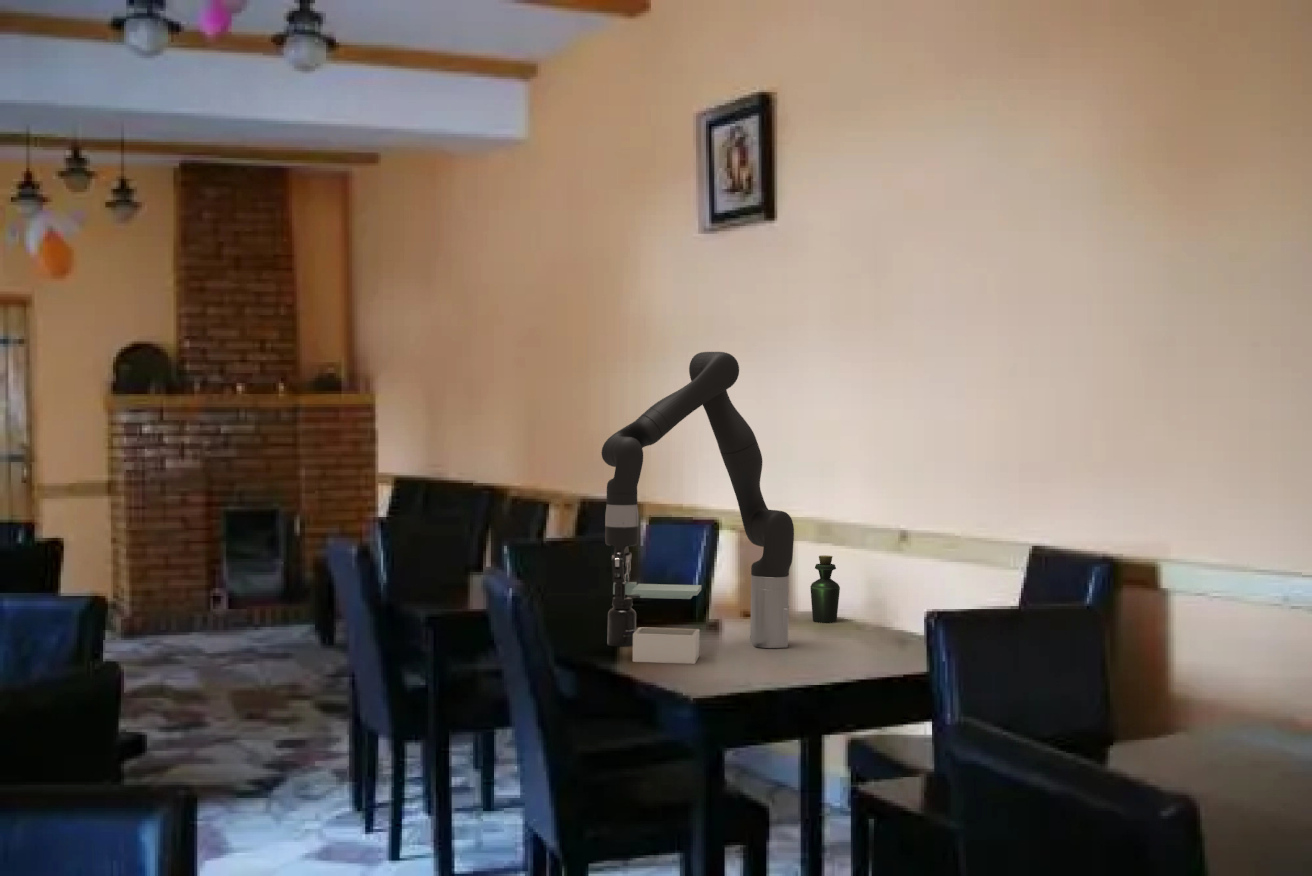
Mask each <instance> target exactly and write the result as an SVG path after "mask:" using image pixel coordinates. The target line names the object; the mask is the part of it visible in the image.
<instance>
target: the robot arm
mask: <svg viewBox="0 0 1312 876" xmlns="http://www.w3.org/2000/svg"><path fill="white" fill-rule="evenodd" d="M688 372H689V374H688V375H689V378H690V381H689V383H687V384H686V385H684V386H683V387H681V388H679V389H678V390H676V391H674V392H673V393H671V394H669V395H667V396H665V397H663V398H662V399H660V400H659V401H656V402H655V403H654V404H653V405H651V406H650V407H648V409H646V411H644V412H643V413H642V414H641V415H640V416H639V417H638V418H637V419H636V420H635V421H632V422H631V423H629V424H627V425H625V426H624V427H622V428H621V429H619V430H617V431H616V432H615V433H613V434H611V436H609V437H608V439H606V440H605V442H604V444H603V445H602V447H601V457H602V458H601V459H602V460H603V462H604V463H605V464H607V465H608V466H610V467H614V468H615V469H614V473H613V474H614V475H613V478H611V479H609V480H608V482H607V483H606V506H605V507H606V509H605V516H604V517H605V519H604V520H605V521H604V523H605V527H604V528H605V529H604V530H605V531H604V532H605V534H604V535H605V536H604V539H605V541H604V542H605V544H606V546H610V547H614V552H613V553H611V570H612V571H611V572H612V583H613V584H615V594H614V597H615V600H616V601H624V600H625V599H626V598H627V597H628V596H629V595H625V583H626V582H630V578H631V570H632V569H631V565H632V564H631V562H632V557H633V556H632V552H630V549H629V547H635V546H637V545H638V544H639V509H638V484H639V482H640V481H639V480H640V477H641V472H642V469H643V463H644V451H643V448H645V447H648V446H652V445H655V444H656V443H658V442H659V441H660V440H661V439H662V438H663V437H665V435H667V434H668V433H669V432H670V431H671V430H672V429H674V427H676V426H677V425H679V423H680V422H682V420H684V419H685V418H687V417H688V416H689V415H691V414H692V413H693V412H695V411H696V410H697V409H699V408H700V407H702V406H703V409H704V411H705V413H706V416H707V419H708V422H709V425H710V427H711V429H712V432H713V435H714V438H715V440H716V442H717V445H718V450H719V452H720V455H721V457H722V461H723V463H724V466H725V469H726V471H727V474H728V477H729V479H730V482H731V485H732V489H733V491H734V493H735V494H734V495H735V497H736V501H737V505H738V508H739V513H740V517H741V521H742V526H743V529H744V532H745V536H747V539H748V540H749V542H751V544H753V545H755V546H758V547H763V548H762V549H763V550H762V556H761V558H760V559H759V560H757V561H754V562H753V563H752V564H751V567H750V569H751V571H750V572H751V573H750V575H751V576H750V625H749V626H750V632H749V634H750V635H749V639H750V640H749V641H750V643H749V644H751V646H753V647H755V648H761V649H762V648H763V649H764V648H767V649H779V648H788V647H789V618H790V616H789V615H790V614H789V611H790V608H789V607H790V605H789V597H790V596H789V590H790V589H789V587H790V586H789V585H790V584H789V583H790V582H789V581H790V580H789V579H790V576H789V575H790V568H791V566H792V562H793V559H794V557H793V556H794V555H793V553H794V540H795V539H794V538H795V528H794V523H793V519H792V517H791V515H790V514H789V513H788V512H786V511H784V510H776V509H769V508H768V506H767V504H766V502H765V499H764V496H763V494H762V490H761V477H762V472H763V471H762V470H763V455H762V452H761V448H760V446H759V444H758V443H759V442H758V440H757V437H756V435H755V433H754V430H752V428H751V426H750V425H749V424H748V422H747V420H746V419H745V418H744V417H743V416H742V414H741V413H740V412H739V411H738V410H737V409H736V407H735V405H734V404H733V402H732V401H731V399H730V396H729V394H728V391H727V390H728V389H730V388H731V387H733V386H734V385H735V383H736V382H737V380H738V377H739V375H740V365H739V362H738V360H737V359H736V358H735V357H734V355H733V354H730V353H728V352H725V351H702V352H698V353H696V354H695V355H694V356H692V358H691V360H690V362H689V366H688Z"/></svg>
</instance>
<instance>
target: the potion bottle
mask: <svg viewBox="0 0 1312 876" xmlns="http://www.w3.org/2000/svg"><path fill="white" fill-rule="evenodd" d="M833 557H834V556H833V555H824V554H823V555H819V556H818V560H819V563H816V564H815V567H814V569H816V570H817V571H818V574H819V579H816V580H815V581H813V582H811V584H810V586H809V587H810V599H811V600H810V601H811V612H812V613H811V614H812V621H813V622H815V623H819V622H820V623H819V624H821V622H822V624H831V623H832V622H834V623H836V622H837V620H838V610H839V603H840V591H841V587H840V584H839V583H838V582H836V581H835V580H833V579H832V574H833V571H834V570H837V568H836V564H834V563H832V561H833ZM830 622H831V623H830ZM832 624H833V623H832Z"/></svg>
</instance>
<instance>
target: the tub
mask: <svg viewBox="0 0 1312 876" xmlns="http://www.w3.org/2000/svg"><path fill="white" fill-rule="evenodd" d="M699 657H700V629H699V628H674V627H673V628H671V627H668V628H667V627H647V626H645V627H644V626H643V627H638V628H636V631H635V632H634V633H633V646H632V662H634V663H657V664H658V663H661V664H687V665H695V664H696V663H697V661H698V659H699Z"/></svg>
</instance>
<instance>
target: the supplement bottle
mask: <svg viewBox="0 0 1312 876" xmlns="http://www.w3.org/2000/svg"><path fill="white" fill-rule="evenodd" d="M611 603H612V604H611V606H612V608H610V609H609V610H608V612H607V639H606V640H607V643H606V644H607V646H611V647H622V648H623V647H625V648H627V647H633V633H634V632H635V631H636V630H637V612H636V610H635V609H633V608H632V607H633V605H634V604H633V597H627V598H626V599H625V600H624V601H616V600H615V596H614V597H612V602H611Z"/></svg>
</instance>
